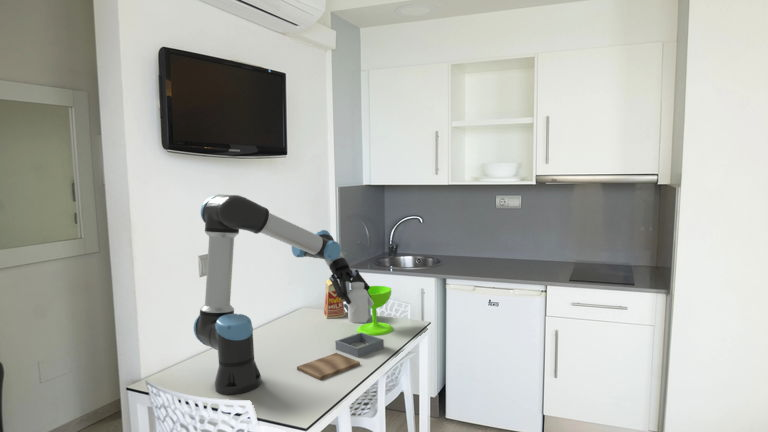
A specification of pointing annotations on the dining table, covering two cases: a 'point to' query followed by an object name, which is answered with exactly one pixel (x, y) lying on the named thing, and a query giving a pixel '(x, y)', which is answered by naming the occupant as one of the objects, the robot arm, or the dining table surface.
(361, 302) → the pill bottle
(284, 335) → the dining table surface
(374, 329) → the wineglass
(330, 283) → the milk carton
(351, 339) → the bin
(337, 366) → the board
